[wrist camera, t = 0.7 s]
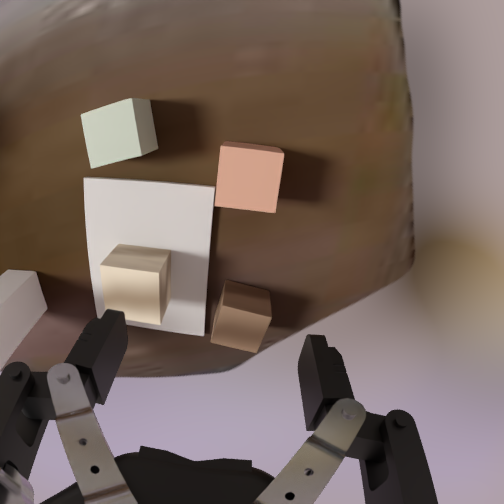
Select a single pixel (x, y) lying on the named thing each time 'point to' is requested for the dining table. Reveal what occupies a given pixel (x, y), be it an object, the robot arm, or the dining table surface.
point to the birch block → (137, 282)
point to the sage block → (119, 131)
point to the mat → (154, 239)
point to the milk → (18, 309)
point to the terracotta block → (249, 176)
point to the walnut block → (241, 316)
